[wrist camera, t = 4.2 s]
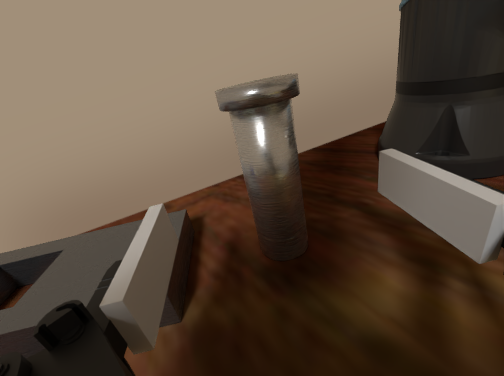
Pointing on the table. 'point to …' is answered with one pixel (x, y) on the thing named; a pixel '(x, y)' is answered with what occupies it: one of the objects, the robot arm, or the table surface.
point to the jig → (77, 277)
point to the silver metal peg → (269, 161)
